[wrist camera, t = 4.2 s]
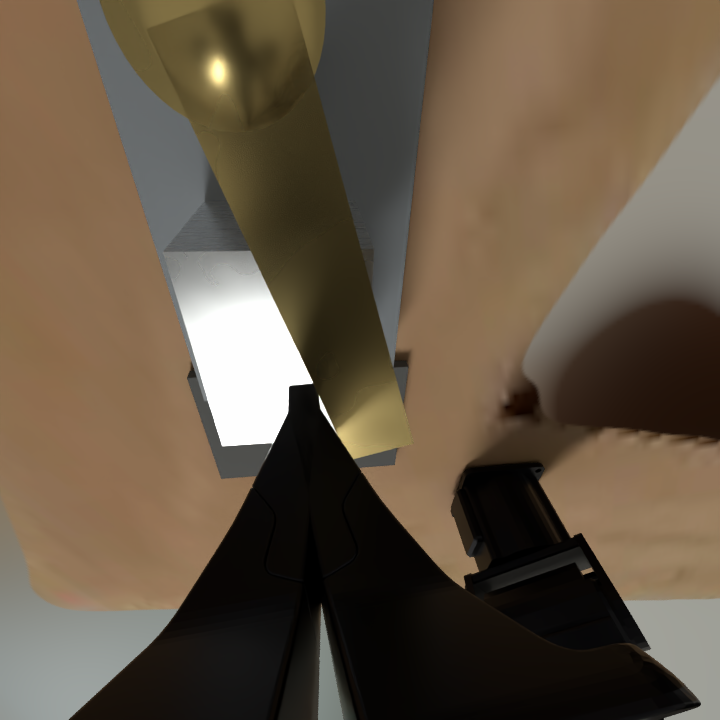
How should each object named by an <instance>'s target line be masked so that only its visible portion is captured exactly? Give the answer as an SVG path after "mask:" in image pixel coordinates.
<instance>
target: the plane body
mask: <svg viewBox="0 0 720 720" xmlns="http://www.w3.org/2000/svg"><path fill="white" fill-rule="evenodd" d="M77 2H78V6H79V9H80V12H81V15H82V18H83V21H84V24H85V28H86V31H87V34H88V37H89V40H90V43H91V46H92V50H93V53H94V56H95V59H96V62H97V65H98V68H99V72H100V75H101V78H102V81H103V84H104V87H105V90H106V94H107V97H108V100H109V103H110V106H111V109H112V112H113V116H114V119H115V122H116V125H117V128H118V131H119V134H120V137H121V141H122V144H123V147H124V150H125V153H126V156H127V159H128V163H129V166H130V169H131V172H132V175H133V178H134V181H135V185H136V188H137V191H138V194H139V197H140V200H141V203H142V207H143V210H144V213H145V216H146V219H147V222H148V225H149V229H150V232H151V235H152V238H153V241H154V244H155V247H156V251H157V254H158V257H159V260H160V263H161V266H162V269H163V273H164V276H165V279H166V282H167V285H168V288H169V291H170V295H171V298H172V301H173V304H174V307H175V310H176V313H177V316H178V320H179V323H180V326H181V329H182V332H183V335H184V338H185V342H186V345H187V348H188V351H189V354H190V357H191V360H192V364H193V367H194V370H195V373H196V376H197V379H198V382H199V386H200V389H201V392H202V395H203V398H204V401H208V397H207V394H206V391H205V388H204V384H203V381H202V378H201V375H200V371H199V368H198V365H197V362H196V358H195V355H194V352H193V349H192V345H191V342H190V339H189V336H188V332H187V329H186V326H185V323H184V320H183V316H182V313H181V310H180V307H179V303H178V300H177V297H176V294H175V290H174V287H173V284H172V281H171V277H170V274H169V271H168V268H167V264H166V261H165V258H164V255H163V251H164V250H165V249H166V247H167V246H168V245H169V244H170V242H171V241H172V240H173V239H174V238H175V236H176V235H177V234H178V233H179V231H180V230H181V229H182V228H183V227H184V225H185V224H186V223H187V222H188V220H189V219H190V218H191V217H192V216H193V214H194V213H195V212H196V211H197V209H198V208H199V207H200V206H201V205H202V203H203V202H204V201H227V200H226V198H225V196H224V194H223V191H222V189H221V187H220V185H219V183H218V181H217V179H216V177H215V174H214V172H213V170H212V168H211V166H210V164H209V162H208V160H207V158H206V155H205V153H204V151H203V149H202V147H201V145H200V143H199V141H198V138H197V136H196V134H195V132H194V130H193V128H192V126H191V124H190V122H189V119H188V118H186V117H184V116H183V115H181V114H180V113H178V112H176V111H175V110H173V109H172V108H171V107H170V106H168V105H167V104H166V103H165V102H163V101H162V100H161V99H160V98H159V97H158V96H157V95H156V94H155V93H154V92H153V91H152V90H151V89H150V88H149V87H148V86H147V85H146V84H145V83H144V82H143V80H142V79H141V78H140V77H139V76H138V74H137V73H136V72H135V70H134V69H133V68H132V66H131V65H130V63H129V62H128V60H127V59H126V58H125V56H124V54H123V52H122V51H121V49H120V47H119V45H118V44H117V42H116V40H115V38H114V36H113V34H112V32H111V29H110V27H109V25H108V23H107V21H106V18H105V15H104V12H103V10H102V7H101V4H100V1H99V0H77ZM433 3H434V0H325V5H326V16H325V34H324V43H323V48H322V52H321V57H320V61H319V64H318V67H317V70H316V73H315V75H314V77H315V81H316V85H317V88H318V92H319V96H320V99H321V103H322V107H323V111H324V114H325V118H326V122H327V125H328V129H329V133H330V136H331V140H332V144H333V147H334V151H335V155H336V158H337V162H338V166H339V170H340V173H341V177H342V181H343V184H344V188H345V192H346V195H347V199H348V201H355V202H356V204H357V207H358V209H359V212H360V214H361V217H362V219H363V222H364V224H365V227H366V230H367V232H368V235H369V237H370V240H371V242H372V245H373V247H374V261H373V280H372V291H373V295H374V299H375V302H376V306H377V310H378V314H379V317H380V321H381V325H382V328H383V332H384V336H385V339H386V343H387V347H388V350H389V354H390V358H391V362H392V365H393V367H394V358H395V349H396V340H397V331H398V321H399V312H400V303H401V294H402V285H403V276H404V267H405V258H406V249H407V240H408V231H409V221H410V212H411V203H412V194H413V185H414V176H415V167H416V158H417V149H418V140H419V130H420V121H421V112H422V103H423V94H424V85H425V76H426V67H427V58H428V49H429V40H430V30H431V21H432V12H433Z"/></svg>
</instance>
